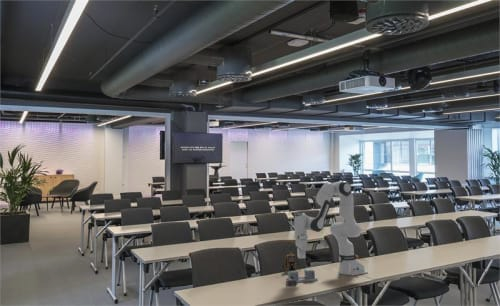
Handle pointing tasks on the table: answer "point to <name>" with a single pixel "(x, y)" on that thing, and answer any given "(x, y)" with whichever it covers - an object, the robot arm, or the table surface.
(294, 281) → the relay
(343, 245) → the robot arm
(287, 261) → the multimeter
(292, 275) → the blue-grey dumbbell
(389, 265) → the table surface
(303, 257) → the module
